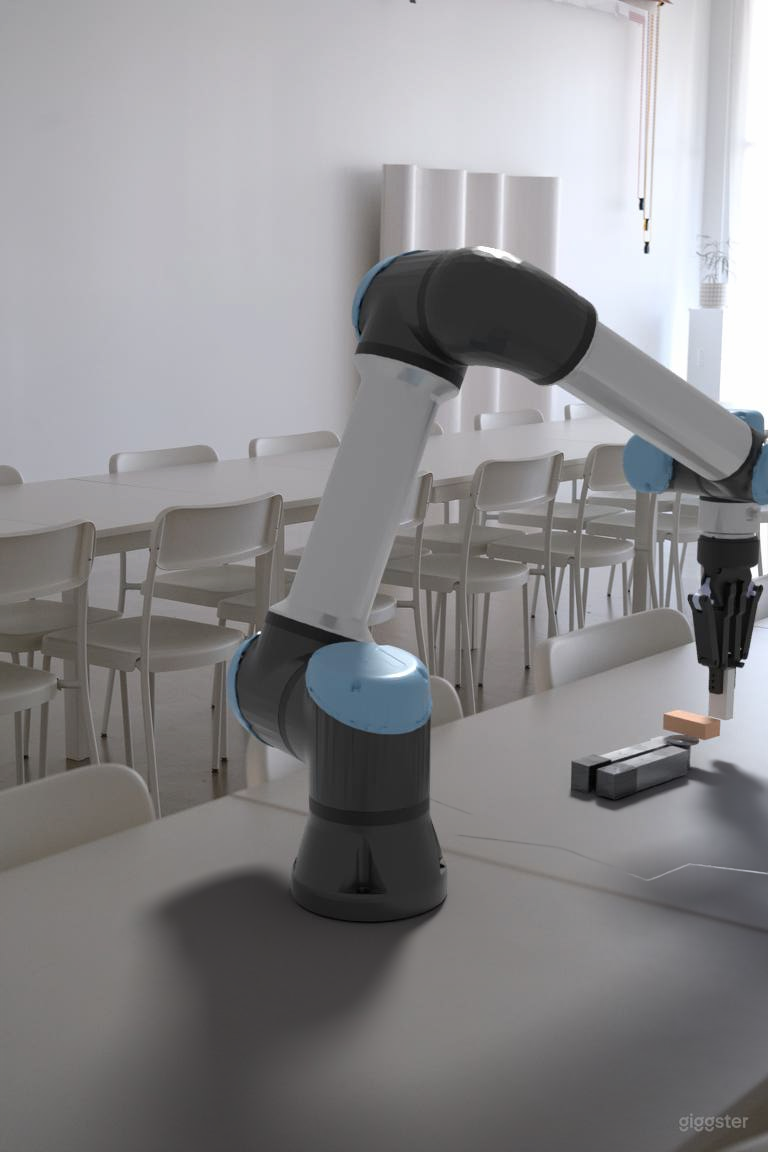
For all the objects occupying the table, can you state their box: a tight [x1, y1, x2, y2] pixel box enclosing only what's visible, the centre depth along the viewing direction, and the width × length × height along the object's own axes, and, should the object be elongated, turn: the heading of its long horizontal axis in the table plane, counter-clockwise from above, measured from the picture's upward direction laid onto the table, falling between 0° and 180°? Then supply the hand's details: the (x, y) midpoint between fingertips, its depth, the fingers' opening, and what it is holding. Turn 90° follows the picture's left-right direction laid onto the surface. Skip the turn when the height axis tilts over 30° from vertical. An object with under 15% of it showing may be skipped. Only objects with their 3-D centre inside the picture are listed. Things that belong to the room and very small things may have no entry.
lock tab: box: [662, 709, 721, 741], centre depth 173 cm, size 3×6×2 cm, turn 41°
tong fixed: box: [570, 735, 692, 794], centre depth 168 cm, size 18×5×3 cm, turn 131°
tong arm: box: [595, 734, 700, 801], centre depth 167 cm, size 18×5×3 cm, turn 132°
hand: (720, 716), depth 177 cm, fingers closed
